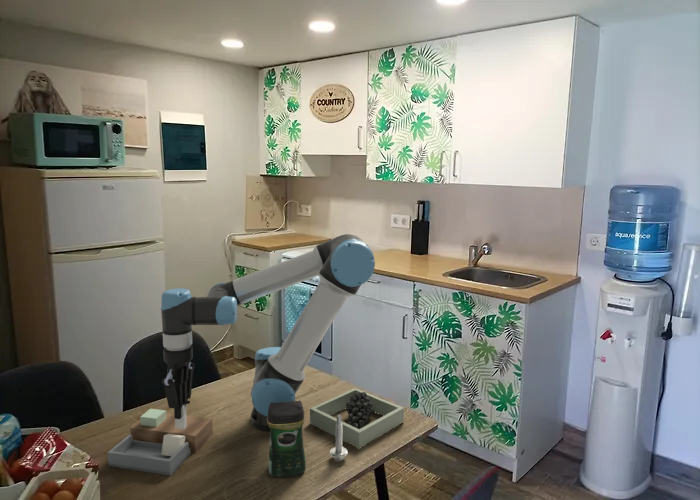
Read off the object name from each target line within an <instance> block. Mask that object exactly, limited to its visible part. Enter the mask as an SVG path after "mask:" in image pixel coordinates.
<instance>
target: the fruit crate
mask: <svg viewBox="0 0 700 500" xmlns="http://www.w3.org/2000/svg"><path fill="white" fill-rule="evenodd" d="M358 392H361V393H362V392H365V393H366V394H367V396H366V397H369V399H370V401H369V402H371V403H372V405H373V406H372V407H371V408H372V409H373V411H374V412H376V413H379V414H381V415H384V416H381V415H380V416H381V417H379V418H377V419H375V420H374V421H372V422H370V423H368V424H366V425H364V426H363V427H360V429H357V428H355V427H353V426H351V425H349V423H348V422H347V423H346V422H345V421H343V420H342V421H341V423H342V441H343V440H344V441H343V442H345V441H346V442H345V443H347V442H348V443H351V444H353V445H355V446H357V447H358V448H360V447H362V446H363V445H365V444H367V443H368V442H370V441H372V440H374V439H375V438H377V437H379V436H380V435H382V434H384V433H385V432H387V431H388V430H390V429H392V428H394V427H396V426H397V425H399V424H400V423H402V422H403V423H404V418H405V417H404V414H405V407H403V406H401V405H397V404H395V403H393V402H390V401H388V400H385V399H384V398H382V397H378V396H376V395H374V394H371V393H368V392H366V391H364V390H361V389H359V388H357V387H354V388H351V389H349V390H347V391H345V392H343V393H341V394H338V395H337V396H334V397H332V398H330V399H328V400H325V401H323V402H321V403H319V404H316V405H315V406H313V407H310V408H309V424H310V425H312V426H314V427H315V426H316V428H317V427H318V429H319V428H320V430H321V429H322V430H321V431H323V430H324V431H323V432H325V431H326V432H325V433H327V432H328V433H327V434H329V433H330V434H329V435H331V434H332V436H333V435H334V436H333V437H334V438H336V424H337V423H336V422H337V417H334V415H336V414H338V413H340V412H342V411H344V410H346V409H347V406H346V403H347V402H349V401H350V397H352V396H355V394H356V393H358ZM357 401H358V402H360V400H357ZM345 408H346V409H345ZM343 409H344V410H343ZM341 410H342V411H341ZM339 411H340V412H339ZM337 412H338V413H337ZM374 412H373V413H374ZM335 413H336V414H335ZM376 413H375V414H376ZM333 414H334V415H333ZM379 414H378V415H379ZM331 415H332V416H331ZM399 426H400V425H399ZM396 428H397V427H396ZM394 429H395V428H394ZM392 430H393V429H392ZM387 433H388V432H387ZM384 435H385V434H384ZM382 436H383V435H382ZM379 438H380V437H379ZM377 439H378V438H377ZM375 440H376V439H375ZM375 440H374V441H375ZM372 442H373V441H372ZM348 443H347V444H348ZM370 443H371V442H370ZM367 445H368V444H367ZM365 446H366V445H365ZM358 448H357V449H358ZM362 448H363V447H362ZM360 449H361V448H360Z"/></svg>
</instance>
